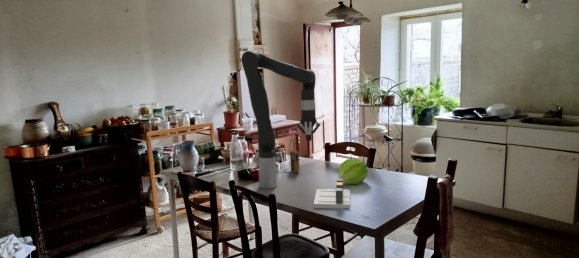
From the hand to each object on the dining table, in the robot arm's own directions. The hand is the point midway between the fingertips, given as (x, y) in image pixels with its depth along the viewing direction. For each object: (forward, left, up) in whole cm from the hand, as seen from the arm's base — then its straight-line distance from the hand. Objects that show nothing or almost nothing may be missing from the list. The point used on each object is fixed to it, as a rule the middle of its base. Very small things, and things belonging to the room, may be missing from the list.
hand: (308, 141), depth 213 cm
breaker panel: (+13, -15, -27) cm, 33 cm away
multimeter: (-16, +35, -27) cm, 47 cm away
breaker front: (+16, -23, -25) cm, 37 cm away
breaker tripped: (+16, -15, -25) cm, 33 cm away
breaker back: (+16, -7, -25) cm, 30 cm away
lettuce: (+22, +12, -27) cm, 37 cm away
